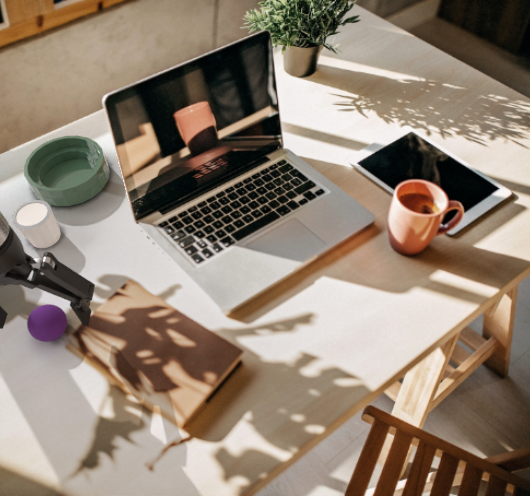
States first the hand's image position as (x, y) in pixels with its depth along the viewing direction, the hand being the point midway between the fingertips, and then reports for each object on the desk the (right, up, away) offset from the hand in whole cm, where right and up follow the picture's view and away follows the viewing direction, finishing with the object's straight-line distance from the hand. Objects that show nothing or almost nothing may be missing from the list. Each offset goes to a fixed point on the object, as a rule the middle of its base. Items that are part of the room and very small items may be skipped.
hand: (45, 319), depth 79 cm
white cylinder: (-7, +13, +16) cm, 22 cm away
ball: (0, -1, +1) cm, 1 cm away
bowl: (-5, +26, +24) cm, 36 cm away
